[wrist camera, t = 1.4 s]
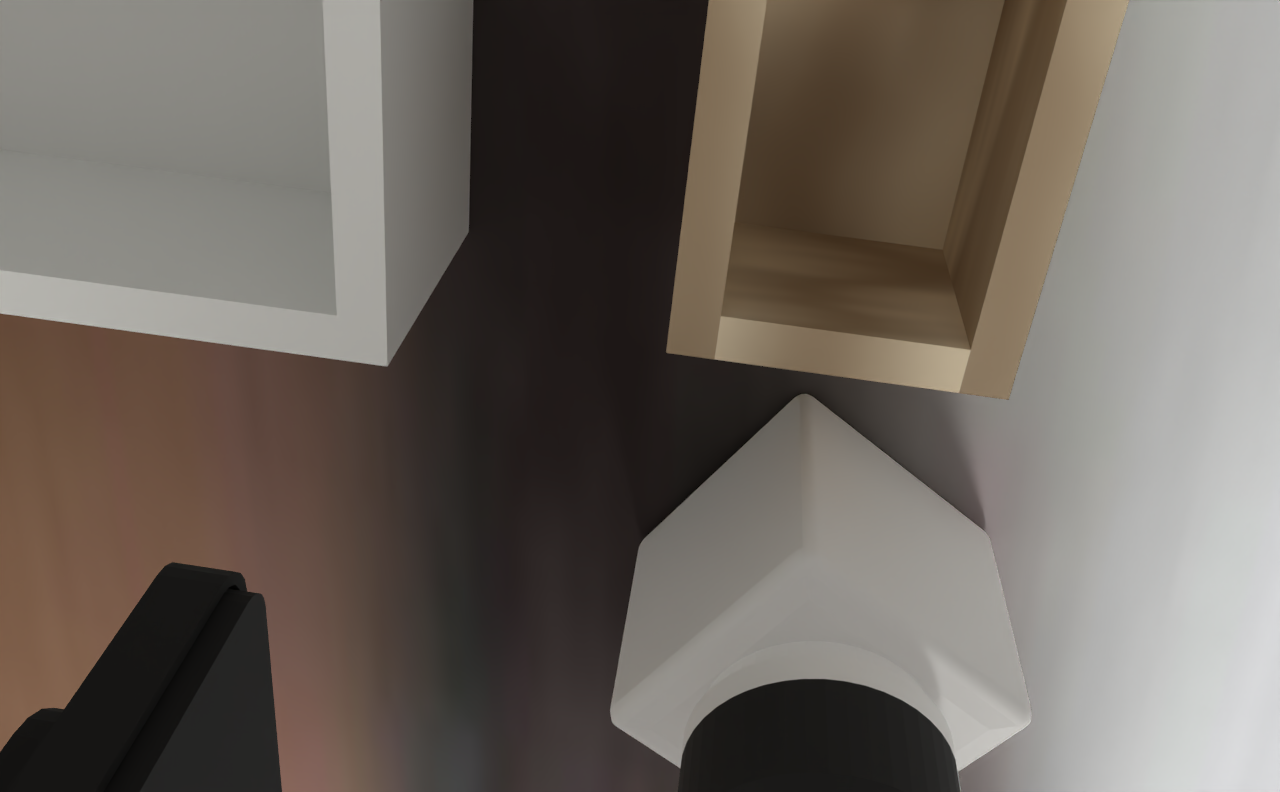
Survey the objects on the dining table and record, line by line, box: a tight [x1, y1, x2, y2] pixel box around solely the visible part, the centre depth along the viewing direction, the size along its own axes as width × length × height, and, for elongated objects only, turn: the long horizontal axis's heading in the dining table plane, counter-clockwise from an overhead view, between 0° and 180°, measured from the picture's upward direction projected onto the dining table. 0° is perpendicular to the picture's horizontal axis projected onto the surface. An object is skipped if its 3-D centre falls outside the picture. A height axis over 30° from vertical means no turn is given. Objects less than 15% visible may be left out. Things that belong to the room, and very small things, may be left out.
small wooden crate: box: [666, 0, 1129, 400], centre depth 24 cm, size 7×9×6 cm
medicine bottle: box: [610, 394, 1032, 792], centre depth 28 cm, size 7×7×12 cm
